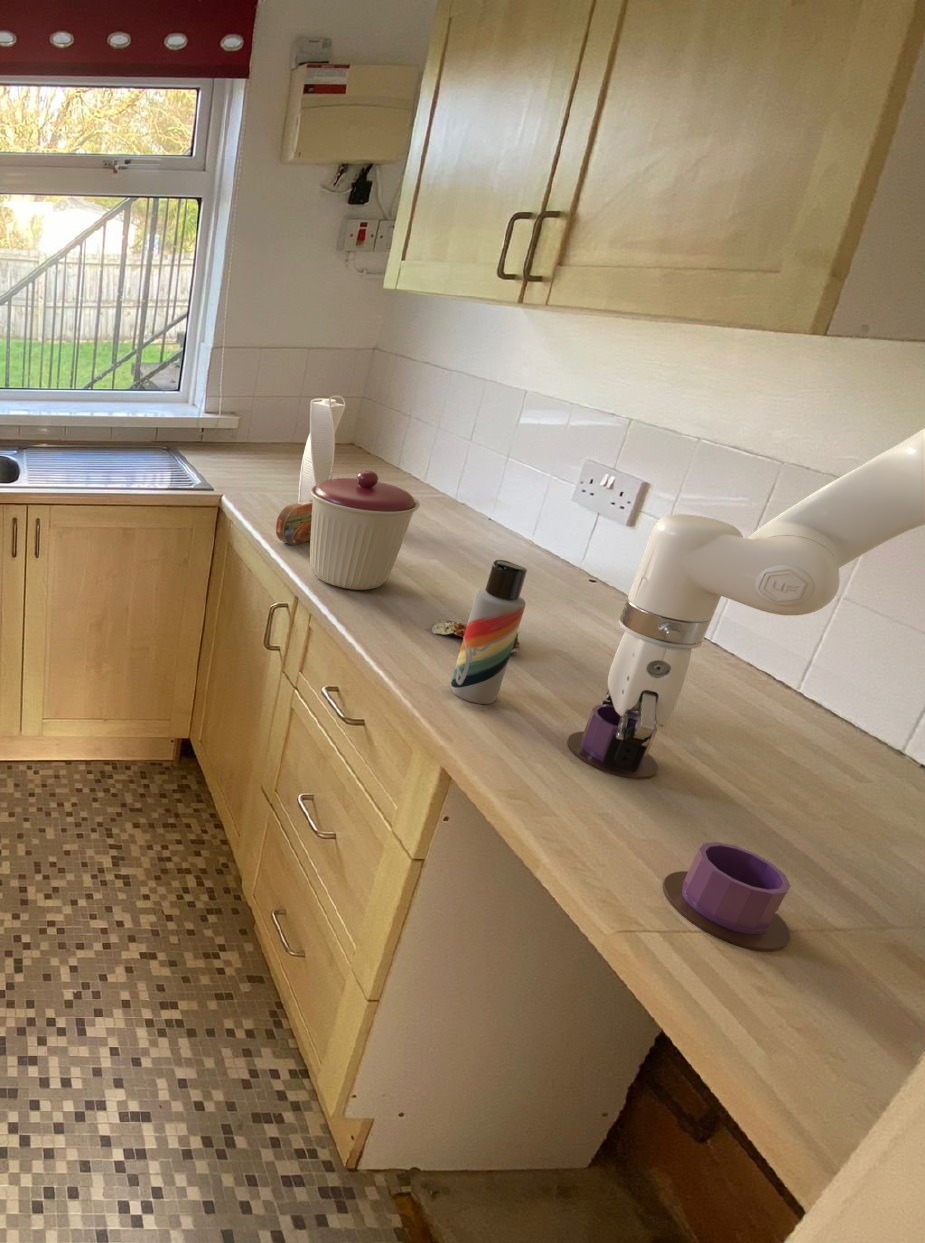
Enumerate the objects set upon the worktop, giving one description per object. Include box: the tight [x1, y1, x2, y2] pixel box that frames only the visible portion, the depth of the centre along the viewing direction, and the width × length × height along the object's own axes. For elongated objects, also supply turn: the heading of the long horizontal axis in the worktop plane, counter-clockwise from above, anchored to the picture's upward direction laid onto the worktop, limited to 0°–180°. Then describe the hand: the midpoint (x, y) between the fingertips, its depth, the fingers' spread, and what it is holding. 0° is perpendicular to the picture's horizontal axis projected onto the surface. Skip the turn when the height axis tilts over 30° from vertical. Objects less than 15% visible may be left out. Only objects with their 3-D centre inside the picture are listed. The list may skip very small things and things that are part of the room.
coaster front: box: [662, 870, 791, 952], centre depth 72 cm, size 9×9×1 cm
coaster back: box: [566, 731, 659, 780], centre depth 94 cm, size 9×9×1 cm
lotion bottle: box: [450, 559, 528, 705], centre depth 103 cm, size 6×6×20 cm
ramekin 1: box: [581, 704, 658, 767], centre depth 93 cm, size 6×6×5 cm
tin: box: [275, 500, 313, 546], centre depth 161 cm, size 15×3×8 cm, turn 120°
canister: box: [309, 470, 421, 591], centre depth 139 cm, size 18×18×21 cm
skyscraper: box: [297, 394, 347, 503], centre depth 174 cm, size 8×8×28 cm
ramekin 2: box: [681, 841, 792, 934], centre depth 71 cm, size 6×6×5 cm
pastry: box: [431, 619, 521, 653], centre depth 121 cm, size 7×12×4 cm, turn 53°
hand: (614, 748), depth 94 cm, fingers open, 7 cm apart
